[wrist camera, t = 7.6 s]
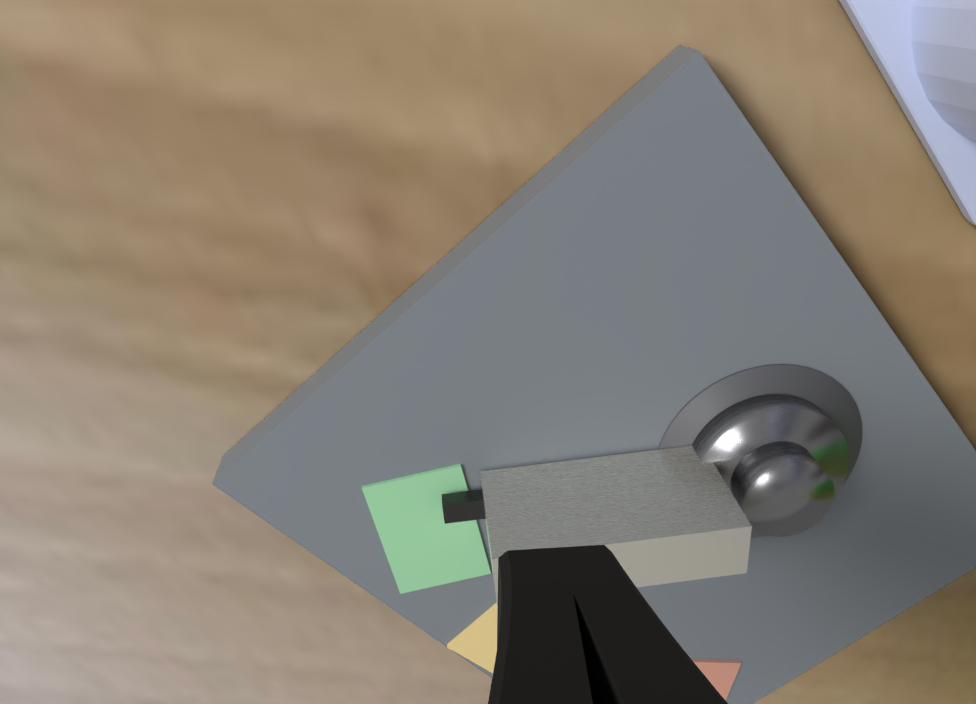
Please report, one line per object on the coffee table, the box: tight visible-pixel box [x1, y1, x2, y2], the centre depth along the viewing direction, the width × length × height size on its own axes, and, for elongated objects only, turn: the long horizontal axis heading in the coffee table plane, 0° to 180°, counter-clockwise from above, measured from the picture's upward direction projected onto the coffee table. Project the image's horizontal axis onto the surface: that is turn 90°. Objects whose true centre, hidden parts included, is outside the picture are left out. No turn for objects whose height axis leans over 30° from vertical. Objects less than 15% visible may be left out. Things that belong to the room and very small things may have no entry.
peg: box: [442, 394, 849, 606], centre depth 18 cm, size 10×4×3 cm, turn 95°
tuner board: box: [212, 45, 976, 704], centre depth 21 cm, size 15×18×1 cm
